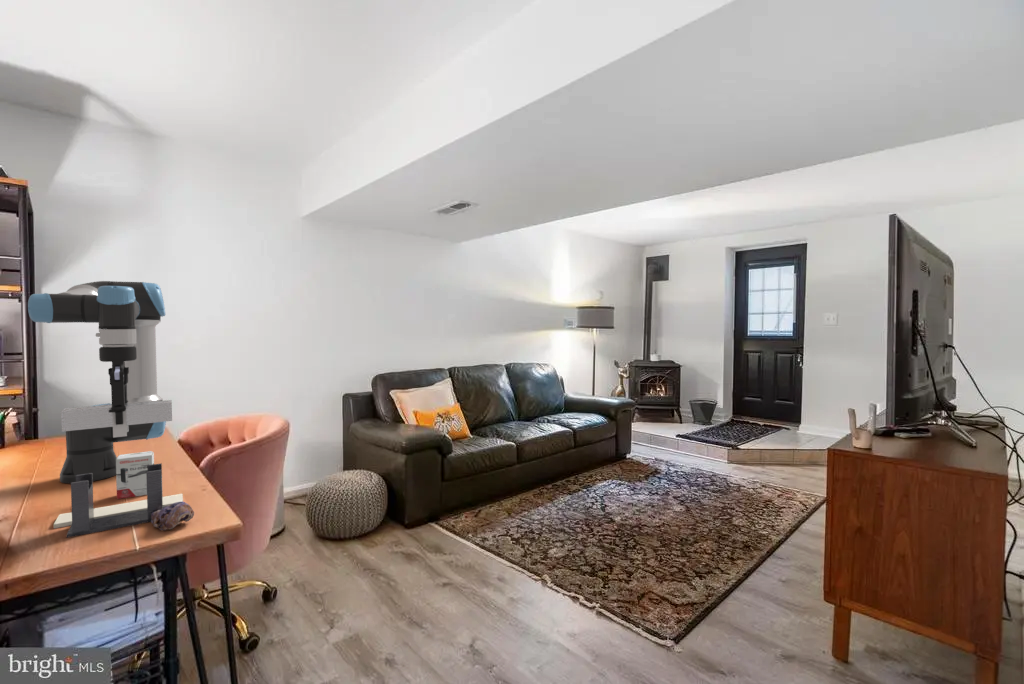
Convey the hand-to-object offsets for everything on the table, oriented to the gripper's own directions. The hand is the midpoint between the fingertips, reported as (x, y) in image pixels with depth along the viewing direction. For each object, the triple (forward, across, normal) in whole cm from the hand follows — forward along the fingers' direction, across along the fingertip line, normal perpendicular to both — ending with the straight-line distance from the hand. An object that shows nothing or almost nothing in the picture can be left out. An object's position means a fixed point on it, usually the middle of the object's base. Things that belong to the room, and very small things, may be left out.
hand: (120, 434), depth 126 cm
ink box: (+21, -16, +2) cm, 27 cm away
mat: (+21, -1, 0) cm, 21 cm away
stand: (+21, +8, 0) cm, 22 cm away
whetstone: (-3, 0, 0) cm, 3 cm away
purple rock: (+21, +17, +10) cm, 29 cm away
